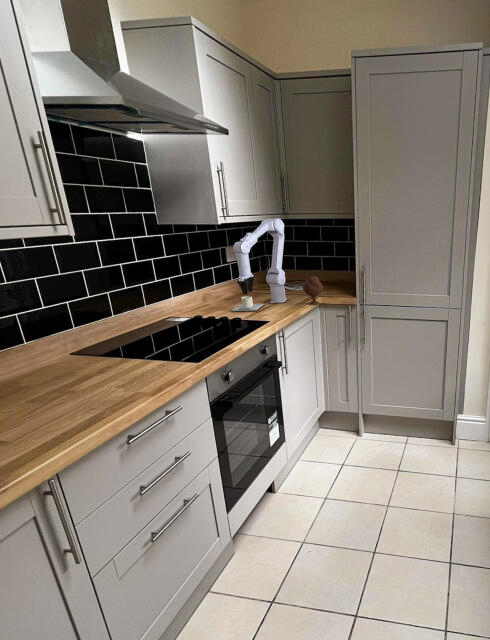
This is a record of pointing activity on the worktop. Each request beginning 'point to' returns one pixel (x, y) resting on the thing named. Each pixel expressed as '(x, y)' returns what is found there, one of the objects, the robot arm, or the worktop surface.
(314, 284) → the brown tree model
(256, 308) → the scale
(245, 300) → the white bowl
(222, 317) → the worktop surface
